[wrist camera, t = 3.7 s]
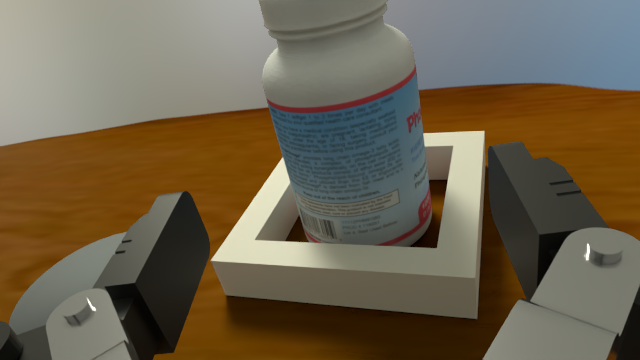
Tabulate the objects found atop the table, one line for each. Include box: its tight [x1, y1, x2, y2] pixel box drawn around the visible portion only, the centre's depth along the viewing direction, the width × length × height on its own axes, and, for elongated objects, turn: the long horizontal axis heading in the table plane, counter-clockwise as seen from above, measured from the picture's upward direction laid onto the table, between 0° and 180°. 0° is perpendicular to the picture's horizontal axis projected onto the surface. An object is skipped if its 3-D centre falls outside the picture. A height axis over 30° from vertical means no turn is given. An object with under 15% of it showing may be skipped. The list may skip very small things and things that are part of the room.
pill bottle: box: [259, 0, 432, 247], centre depth 20 cm, size 6×6×11 cm
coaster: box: [9, 232, 127, 335], centre depth 22 cm, size 8×8×1 cm
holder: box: [211, 131, 485, 319], centre depth 22 cm, size 10×10×2 cm
